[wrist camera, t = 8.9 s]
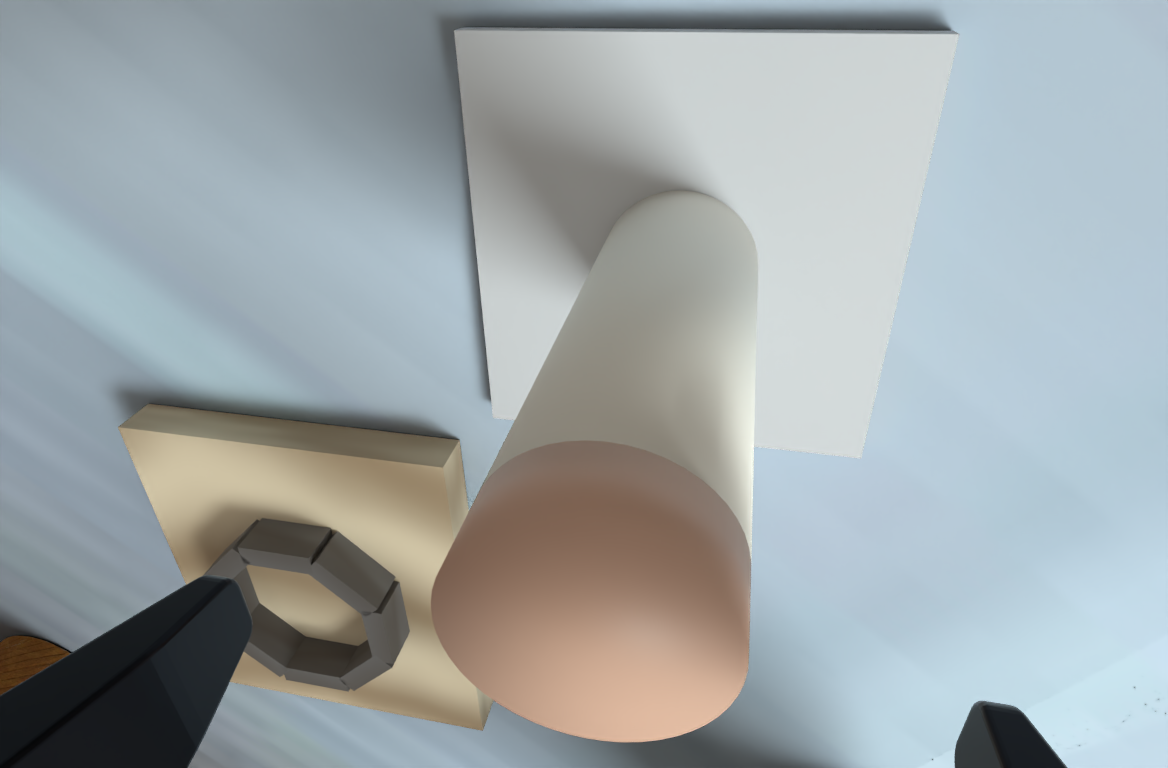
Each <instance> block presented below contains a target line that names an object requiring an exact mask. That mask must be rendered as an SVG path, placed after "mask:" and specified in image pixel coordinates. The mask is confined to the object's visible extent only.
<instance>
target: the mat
mask: <svg viewBox="0 0 1168 768" xmlns="http://www.w3.org/2000/svg"><path fill="white" fill-rule="evenodd" d="M454 35H455V45H456V55H457V65H458V75H459V85H460V95H461V105H462V115H463V125H464V135H465V145H466V155H467V164H468V174H469V184H470V194H471V204H472V214H473V224H474V234H475V244H476V254H477V264H478V274H479V284H480V294H481V304H482V313H483V323H484V333H485V343H486V353H487V363H488V373H489V383H490V393H491V403H492V413H493V418H498V419H507V420H515V419H516V417H517V415H518V413H519V411H520V409H521V407H522V405H523V404H524V402H525V400H526V398H527V396H528V394H529V392H530V390H531V388H532V386H533V384H534V382H535V380H536V378H537V376H538V374H539V372H540V370H541V368H542V366H543V364H544V362H545V360H546V358H547V356H548V354H549V352H550V350H551V348H552V346H553V344H554V342H555V340H556V338H557V336H558V334H559V332H560V330H561V328H562V326H563V324H564V322H565V320H566V318H567V316H568V314H569V312H570V310H571V308H572V306H573V305H574V303H575V301H576V299H577V297H578V295H579V293H580V291H581V289H582V287H583V285H584V283H585V281H586V279H587V277H588V275H589V273H590V271H591V269H592V267H593V265H594V263H595V261H596V259H597V257H598V255H599V253H600V251H601V249H602V247H603V245H604V243H605V241H606V239H607V237H608V235H609V233H610V231H611V229H612V228H613V226H614V224H615V223H616V221H617V220H618V219H619V217H620V216H621V215H622V214H623V213H624V212H625V211H626V210H627V209H629V208H630V207H631V206H632V205H634V204H635V203H637V202H639V201H640V200H642V199H644V198H646V197H649V196H651V195H654V194H657V193H661V192H667V191H678V190H684V191H693V192H698V193H702V194H705V195H708V196H710V197H713V198H715V199H717V200H719V201H721V202H723V203H724V204H726V205H727V206H728V207H730V208H731V209H732V210H733V211H734V212H735V213H736V214H738V215H739V216H740V218H741V219H742V220H743V221H744V223H745V224H746V225H747V227H748V229H749V231H750V232H751V234H752V237H753V239H754V242H755V245H756V249H757V254H758V296H757V338H756V379H755V421H754V447H762V448H771V449H780V450H789V451H798V452H807V453H816V454H825V455H834V456H843V457H853V458H861V457H862V453H863V448H864V444H865V440H866V435H867V431H868V427H869V422H870V418H871V414H872V409H873V405H874V401H875V396H876V392H877V388H878V383H879V379H880V375H881V371H882V366H883V362H884V358H885V353H886V349H887V345H888V340H889V336H890V332H891V327H892V323H893V319H894V314H895V310H896V306H897V301H898V297H899V293H900V288H901V284H902V280H903V275H904V271H905V267H906V263H907V258H908V254H909V250H910V245H911V241H912V237H913V232H914V228H915V224H916V219H917V215H918V211H919V206H920V202H921V198H922V193H923V189H924V185H925V180H926V176H927V172H928V167H929V163H930V159H931V155H932V150H933V146H934V142H935V137H936V133H937V129H938V124H939V120H940V116H941V111H942V107H943V103H944V98H945V94H946V90H947V85H948V81H949V77H950V72H951V68H952V64H953V59H954V55H955V51H956V46H957V42H958V38H959V34H958V33H956V32H955V31H927V30H780V29H633V28H486V27H462V28H460V29H457V30H454Z"/></svg>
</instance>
